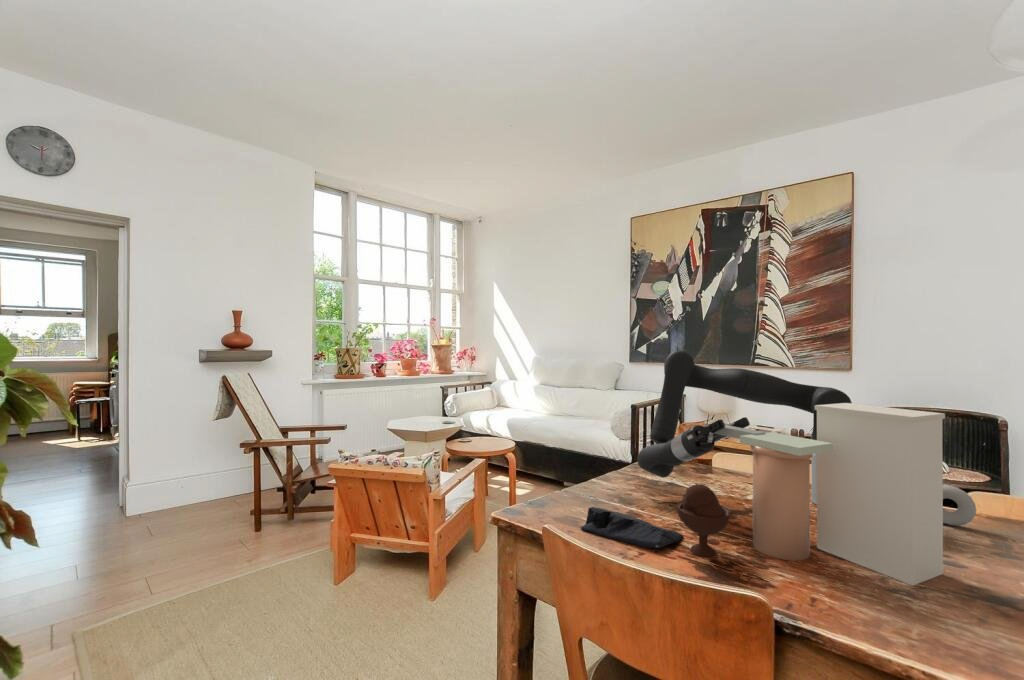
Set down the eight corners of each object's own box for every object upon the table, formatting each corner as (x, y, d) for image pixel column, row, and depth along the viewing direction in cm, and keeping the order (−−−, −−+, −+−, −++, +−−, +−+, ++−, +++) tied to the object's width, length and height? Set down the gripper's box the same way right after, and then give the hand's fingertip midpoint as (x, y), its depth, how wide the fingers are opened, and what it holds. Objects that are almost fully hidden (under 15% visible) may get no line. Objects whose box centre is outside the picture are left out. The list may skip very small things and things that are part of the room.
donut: (977, 528, 117) (977, 488, 117) (975, 532, 115) (975, 491, 115) (924, 517, 125) (924, 479, 125) (922, 520, 123) (921, 482, 123)
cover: (732, 431, 123) (732, 423, 123) (832, 450, 100) (832, 441, 100) (702, 434, 118) (702, 426, 118) (799, 455, 96) (799, 445, 96)
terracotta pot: (773, 534, 113) (773, 438, 113) (825, 555, 102) (824, 448, 102) (738, 543, 108) (738, 442, 108) (788, 565, 97) (788, 453, 97)
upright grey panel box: (846, 539, 111) (846, 402, 111) (945, 574, 94) (945, 413, 94) (814, 547, 106) (814, 405, 106) (913, 586, 89) (913, 417, 89)
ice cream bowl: (737, 565, 97) (737, 492, 97) (680, 560, 99) (680, 489, 99) (724, 544, 107) (724, 478, 108) (673, 540, 110) (673, 475, 110)
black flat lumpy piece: (656, 559, 101) (656, 537, 101) (575, 530, 117) (575, 510, 117) (689, 539, 111) (689, 519, 111) (610, 514, 127) (610, 497, 127)
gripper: (666, 432, 127) (708, 409, 115) (705, 429, 133) (749, 406, 121) (677, 459, 124) (720, 438, 111) (716, 454, 130) (762, 434, 117)
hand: (735, 422), depth 116 cm, fingers open, 8 cm apart
